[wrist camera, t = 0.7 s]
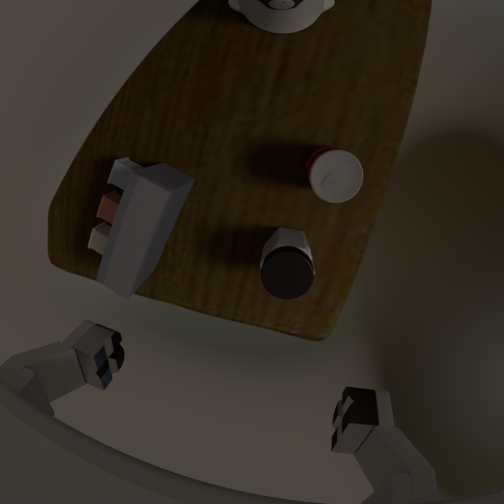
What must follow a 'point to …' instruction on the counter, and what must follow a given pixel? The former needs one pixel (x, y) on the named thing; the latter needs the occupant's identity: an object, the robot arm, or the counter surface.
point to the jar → (287, 264)
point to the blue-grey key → (122, 172)
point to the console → (142, 226)
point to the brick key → (109, 206)
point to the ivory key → (99, 237)
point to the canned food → (334, 174)
